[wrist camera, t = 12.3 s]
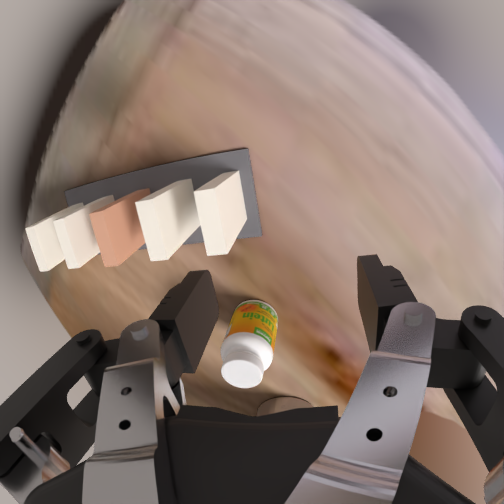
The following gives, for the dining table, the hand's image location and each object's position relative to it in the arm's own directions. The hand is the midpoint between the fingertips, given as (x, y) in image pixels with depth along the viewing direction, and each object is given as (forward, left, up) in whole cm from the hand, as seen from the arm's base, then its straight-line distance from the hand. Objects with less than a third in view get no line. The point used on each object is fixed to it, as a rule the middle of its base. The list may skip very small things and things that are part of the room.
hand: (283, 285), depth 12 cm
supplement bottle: (-16, 0, -20) cm, 25 cm away
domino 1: (-10, +24, -19) cm, 32 cm away
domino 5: (-2, +5, -19) cm, 20 cm away
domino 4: (-4, +10, -19) cm, 22 cm away
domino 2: (-8, +19, -19) cm, 28 cm away
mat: (-6, +15, -20) cm, 25 cm away
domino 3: (-6, +15, -19) cm, 25 cm away
